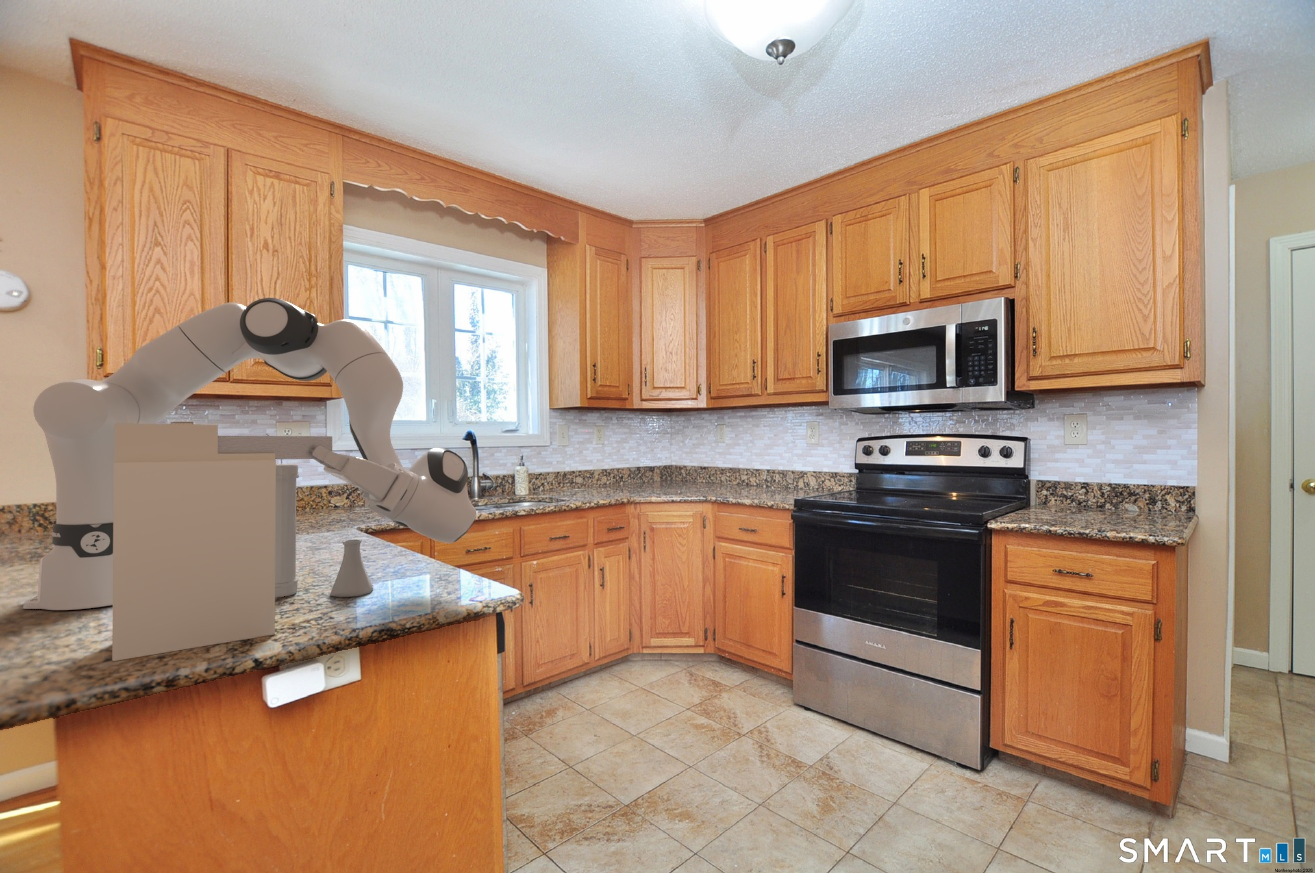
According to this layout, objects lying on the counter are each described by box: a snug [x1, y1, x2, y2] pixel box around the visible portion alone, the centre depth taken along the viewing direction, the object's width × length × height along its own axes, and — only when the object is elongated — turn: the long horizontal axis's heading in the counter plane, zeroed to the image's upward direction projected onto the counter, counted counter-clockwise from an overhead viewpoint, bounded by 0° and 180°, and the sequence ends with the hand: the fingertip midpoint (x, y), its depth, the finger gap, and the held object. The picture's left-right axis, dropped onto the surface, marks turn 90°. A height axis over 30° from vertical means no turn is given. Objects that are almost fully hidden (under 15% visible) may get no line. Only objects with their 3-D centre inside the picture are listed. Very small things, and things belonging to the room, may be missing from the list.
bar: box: [218, 435, 333, 460], centre depth 93 cm, size 4×18×4 cm, turn 127°
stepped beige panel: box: [111, 423, 277, 662], centre depth 88 cm, size 10×18×31 cm, turn 128°
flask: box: [329, 538, 374, 598], centre depth 113 cm, size 7×7×10 cm
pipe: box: [265, 433, 300, 599], centre depth 112 cm, size 6×6×30 cm
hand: (309, 449), depth 97 cm, fingers open, 8 cm apart
